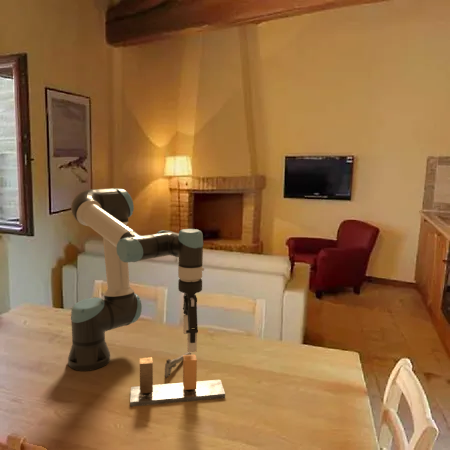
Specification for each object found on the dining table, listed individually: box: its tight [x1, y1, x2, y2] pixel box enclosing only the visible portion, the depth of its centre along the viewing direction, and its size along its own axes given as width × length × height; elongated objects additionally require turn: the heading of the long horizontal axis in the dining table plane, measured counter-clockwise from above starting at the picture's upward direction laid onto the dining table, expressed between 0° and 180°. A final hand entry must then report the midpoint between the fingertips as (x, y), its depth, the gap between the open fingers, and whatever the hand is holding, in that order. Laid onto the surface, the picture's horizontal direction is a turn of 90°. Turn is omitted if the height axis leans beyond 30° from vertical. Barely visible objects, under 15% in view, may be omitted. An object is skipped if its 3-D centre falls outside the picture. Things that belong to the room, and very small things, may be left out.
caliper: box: [164, 351, 192, 378], centre depth 158 cm, size 20×1×6 cm, turn 160°
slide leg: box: [182, 354, 198, 390], centre depth 138 cm, size 4×4×11 cm
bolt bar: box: [129, 356, 226, 408], centre depth 138 cm, size 9×30×13 cm, turn 101°
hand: (189, 342), depth 137 cm, fingers open, 13 cm apart
